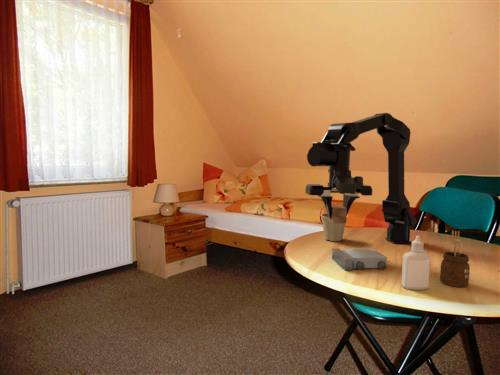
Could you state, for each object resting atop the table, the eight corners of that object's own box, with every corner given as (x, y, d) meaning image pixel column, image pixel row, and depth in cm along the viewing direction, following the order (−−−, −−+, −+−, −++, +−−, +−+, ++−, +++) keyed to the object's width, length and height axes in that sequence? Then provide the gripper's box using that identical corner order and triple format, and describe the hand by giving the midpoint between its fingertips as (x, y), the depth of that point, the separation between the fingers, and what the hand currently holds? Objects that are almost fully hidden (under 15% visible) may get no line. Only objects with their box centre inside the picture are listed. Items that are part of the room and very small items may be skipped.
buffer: (338, 258, 101) (339, 248, 101) (352, 270, 91) (352, 259, 91) (331, 258, 101) (332, 248, 100) (344, 270, 91) (345, 259, 91)
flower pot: (314, 237, 126) (315, 213, 125) (335, 235, 130) (336, 212, 129) (330, 244, 117) (331, 218, 116) (352, 241, 121) (353, 216, 120)
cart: (371, 257, 102) (371, 248, 102) (388, 269, 92) (388, 258, 92) (341, 258, 101) (341, 248, 101) (355, 269, 91) (355, 259, 91)
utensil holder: (440, 285, 82) (444, 234, 80) (438, 276, 87) (441, 229, 86) (470, 289, 79) (474, 237, 78) (466, 280, 85) (469, 232, 84)
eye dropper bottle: (428, 293, 77) (432, 239, 76) (400, 288, 80) (404, 236, 78) (428, 286, 81) (431, 235, 80) (401, 282, 83) (404, 232, 82)
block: (341, 220, 107) (341, 206, 107) (346, 223, 103) (346, 208, 103) (328, 220, 107) (329, 206, 106) (332, 223, 103) (333, 208, 102)
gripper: (316, 167, 94) (314, 224, 96) (382, 168, 96) (379, 223, 98) (305, 165, 105) (304, 216, 107) (365, 166, 107) (362, 216, 109)
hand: (337, 218), depth 105 cm, fingers closed on block, 4 cm apart
